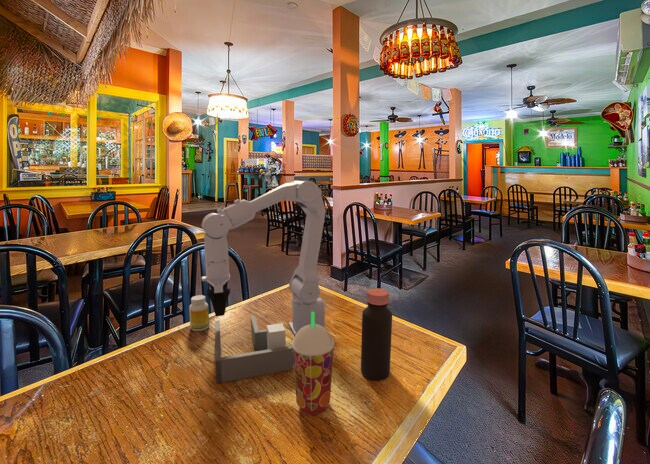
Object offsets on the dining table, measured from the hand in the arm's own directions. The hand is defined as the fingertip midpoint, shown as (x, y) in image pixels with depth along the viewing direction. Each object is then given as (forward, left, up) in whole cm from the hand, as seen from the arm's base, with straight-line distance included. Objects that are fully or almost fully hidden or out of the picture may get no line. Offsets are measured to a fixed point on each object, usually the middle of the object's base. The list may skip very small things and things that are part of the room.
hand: (219, 309), depth 87 cm
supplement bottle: (+6, -13, -11) cm, 18 cm away
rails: (-7, +6, -10) cm, 14 cm away
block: (-13, +11, -10) cm, 20 cm away
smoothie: (-17, +30, -11) cm, 36 cm away
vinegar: (-34, +24, -11) cm, 43 cm away
